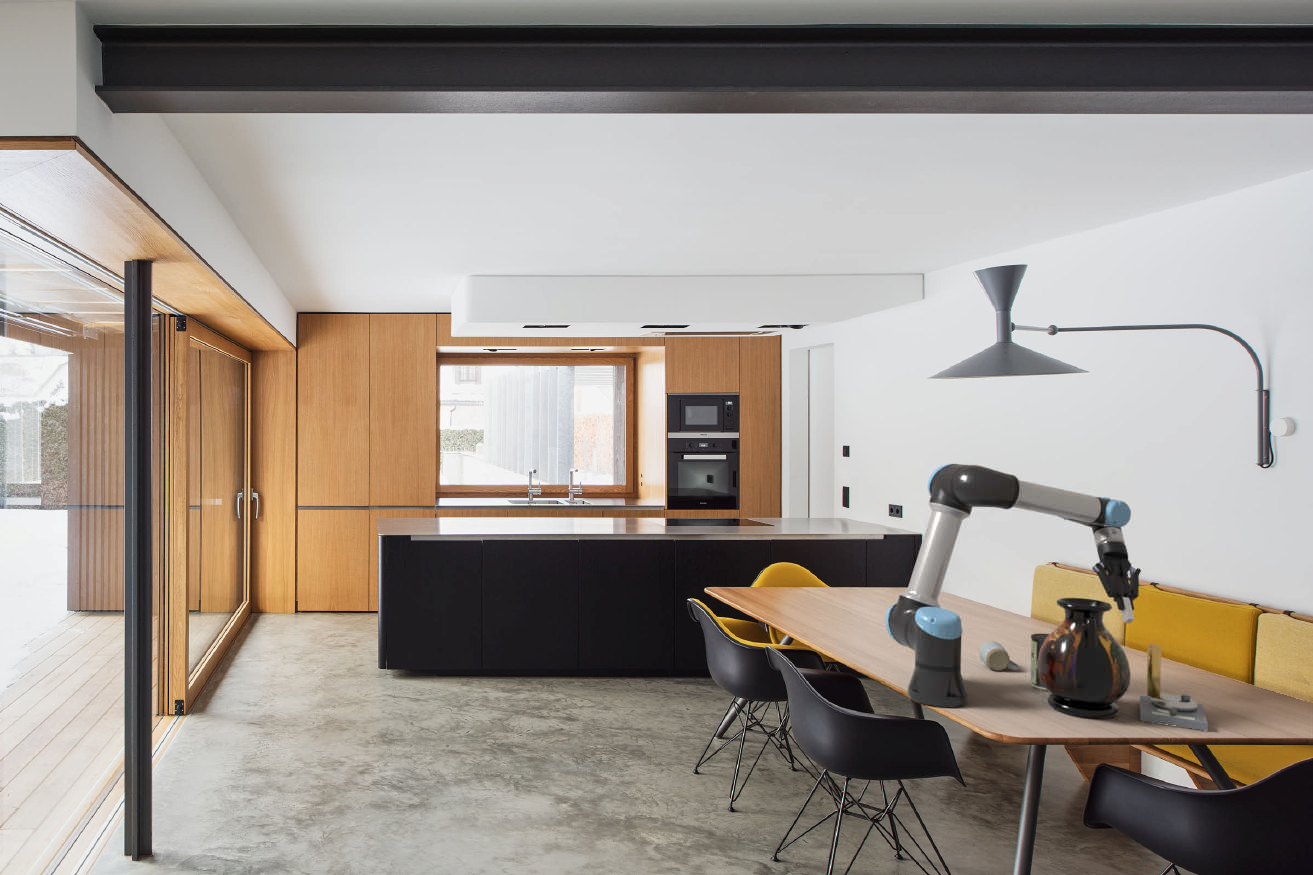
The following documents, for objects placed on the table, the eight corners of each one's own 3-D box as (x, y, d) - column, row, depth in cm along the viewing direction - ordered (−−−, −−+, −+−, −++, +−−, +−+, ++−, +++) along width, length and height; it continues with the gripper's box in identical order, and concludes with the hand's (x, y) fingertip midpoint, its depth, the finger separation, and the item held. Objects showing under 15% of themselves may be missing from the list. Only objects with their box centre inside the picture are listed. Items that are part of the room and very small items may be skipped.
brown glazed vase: (1141, 727, 201) (1142, 612, 201) (1044, 717, 207) (1046, 605, 207) (1117, 702, 222) (1118, 597, 222) (1030, 693, 228) (1032, 592, 228)
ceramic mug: (985, 671, 251) (986, 646, 251) (978, 664, 259) (979, 639, 259) (1022, 673, 249) (1023, 648, 249) (1013, 666, 258) (1014, 642, 258)
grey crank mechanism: (1207, 731, 199) (1207, 715, 199) (1140, 720, 206) (1140, 705, 206) (1201, 711, 215) (1202, 697, 215) (1139, 702, 222) (1139, 688, 222)
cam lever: (1198, 713, 205) (1199, 655, 206) (1147, 706, 211) (1147, 648, 211) (1195, 703, 214) (1196, 647, 214) (1146, 696, 219) (1147, 641, 220)
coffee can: (1078, 690, 232) (1079, 640, 232) (1047, 692, 229) (1048, 641, 229) (1051, 680, 242) (1052, 632, 242) (1022, 682, 239) (1022, 633, 239)
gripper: (1094, 536, 238) (1112, 611, 224) (1140, 543, 238) (1160, 618, 223) (1082, 549, 244) (1098, 623, 230) (1126, 555, 244) (1145, 630, 229)
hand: (1129, 620), depth 226 cm, fingers closed
